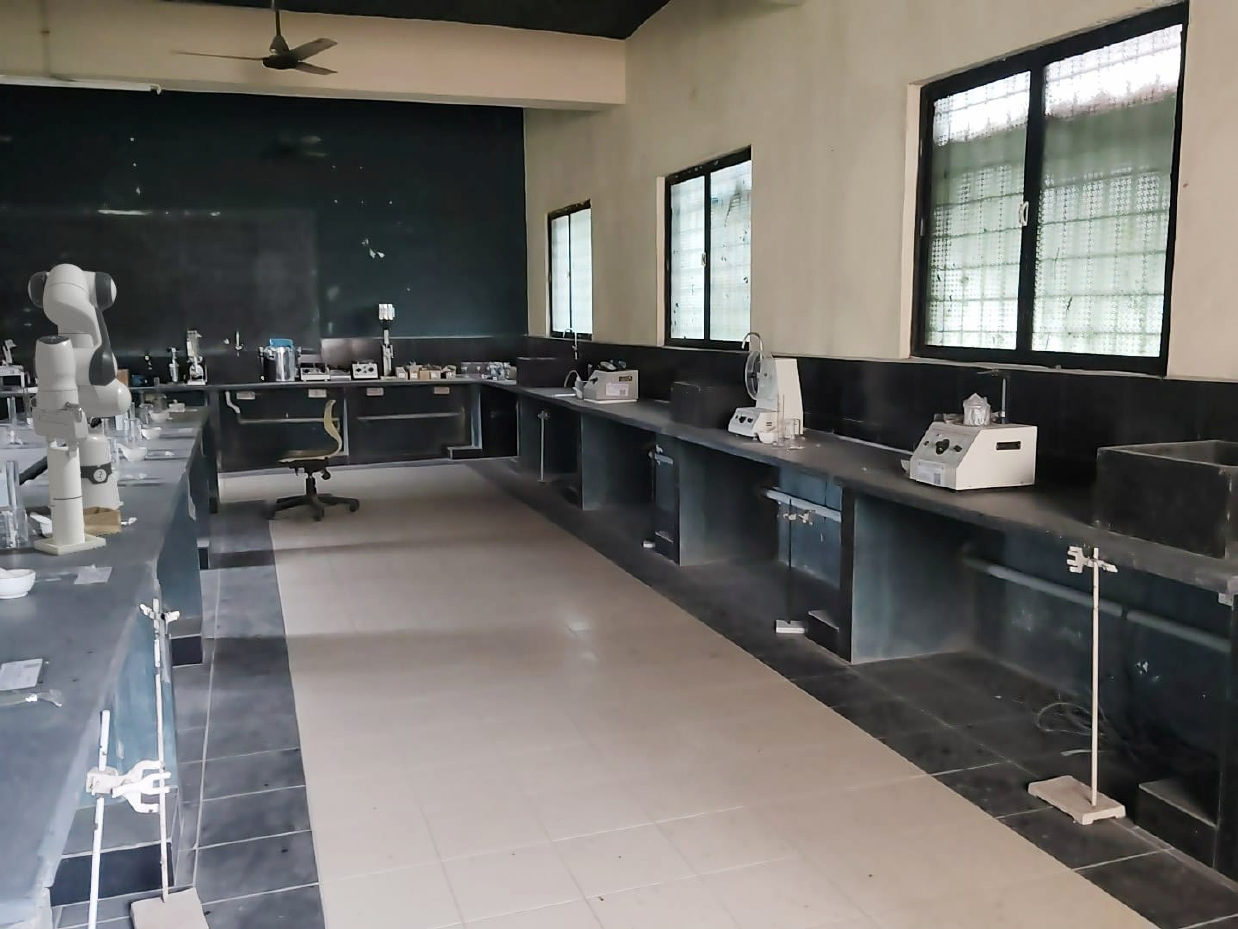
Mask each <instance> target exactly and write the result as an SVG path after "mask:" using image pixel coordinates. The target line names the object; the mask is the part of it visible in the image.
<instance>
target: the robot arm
mask: <svg viewBox="0 0 1238 929" xmlns="http://www.w3.org/2000/svg"><path fill="white" fill-rule="evenodd" d="M27 288H28V289H27V290H28V291H27V292H28V295H29V297H30V300H31V302H32V303H33V305H34V306H36V307H37V308H40V309H43V312H44V314H45V315H46V316H45V317H47V318H48V319H49V320H50V321H51V322H52V323H54V325H57V330H58V331H57V333H58V334H57V335H54V334H53V335H47V336H46V335H45V336H44V335H43V336H41V337H39V338H38V339H37V340H36V344H35V353H34V354H35V356H34V357H33V359H32V364H33V365H32V366H33V375H34V378H36V379H38V384H37V392H36V394H35V396H33V397H32V398H30V399H29V406H30V407H31V408H32V410H31V415H32V416H31V417H32V424H33V429H34V431H35V434H36V435H37V436H41V437H42V436H43V437H44V438H45V442H46V445H47V446H48V448H54V447H58V443H57V439H58V440H59V439H61V440H64V442H65V447H68V450H67V451H66V453H67V457H69V458H74V457H77V451H76V450H77V448H79V461H80V476H81V492H82V506H83V508H89V507H95V506H103V507H107V508H112V509H116V510H119V508H120V507H121V506H124V501H122V500H120V495H119V489H118V483H117V479H115V478H114V477H113V476H112V475H113V466H112V462H111V461H110V449H109V448H110V447H109V439H108V438H107V435H105V434H104V433H103V432H102V431H100V430H98V429H95V428H94V427H91V426H90V424H89V423H88V421H87V418H111V417H117V416H121V415H125V414H126V413H127V412H128V411H129V410H130V408H131V405H132V394H131V392H130V391H131V390H129V388H128V386H126V384H125V383H123V382H121V381H120V380H119V379H117V375H118V362H117V360H116V357H115V355H114V352H113V350H112V348H111V347H112V346H111V341H110V337H109V334H108V329H107V326H106V322H105V318H104V315H103V312H104V310H108V309H109V308H110V307H111V306H113V304H114V303H115V299H116V296H117V287H116V284H115V282H114V280H113V277H112V276H111V275H110V274H109V273H106V272H103V271H96V272H95V271H88V270H82V269H81V268H80V267H79V266H77V265H74V264H70V263H62V264H61V263H60V264H58V265H56V266H54V267H53V268H51V270H50V271H49V272H48V271H46V270H45V271H40V272H39V271H38V272H35V273H34V274H32V276H30V280H29V282H28V287H27ZM50 505H51V504H50V503H49V504H47V507H48V509H49V510H51V506H50Z"/></svg>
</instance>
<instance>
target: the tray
mask: <svg viewBox="0 0 1238 929" xmlns="http://www.w3.org/2000/svg"><path fill="white" fill-rule="evenodd" d="M84 537H85V542H82V543H77V544H71V545H66V546H61V547H59V546H55V545H53V537H49V538H43V539H38V540H34V541H33V545H34V550H38V551H40V552H41V551H42V552H45V553H48V554H51V555H55V556H64V555H68V554H69V553H70V554H74V552H75V553H79V552H85V551H88V550H94V549H93V548H95V549H99V548H98V547H100V548H103V547H102V546H105V547H107V542H106V541H107V540H106V538H103V537H101V536H97V537H96V536H93V535H89V534H85V533H84Z"/></svg>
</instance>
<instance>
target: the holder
mask: <svg viewBox="0 0 1238 929" xmlns="http://www.w3.org/2000/svg"><path fill="white" fill-rule="evenodd" d="M83 521H84V533H85V534H89V535H93V536H97V537H100V536H99V535H102V536H104V535H103V534H108V535H112V534H111V533H113V534H118V533H117V532H119V533H123V532H122V531H123V530H122V514H121V510H119V509H112V508H107V507H103V506H95V507H89V508H83Z"/></svg>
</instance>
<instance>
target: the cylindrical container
mask: <svg viewBox="0 0 1238 929" xmlns="http://www.w3.org/2000/svg"><path fill="white" fill-rule="evenodd" d="M67 450H68V447H66V446H57V447H54V448H49V447H48V448H46V460H47V474H48V475H47V476H48V487H49V488H48V490H49V492H48V493H49V502H50V503H49V504H51V505H50V506H51V509H50V515H51V516H50V518H51V530H52V531H51V532H52V533H51V534H52V538H53V545H55V546H59V547H61V546H66V545H71V544H77V543H82V542H85V537H84V521H83V506H82V492H81V476H80V461H79V448H77V450H76V451H77V457H74V458H69V457H67V453H66V451H67Z"/></svg>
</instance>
